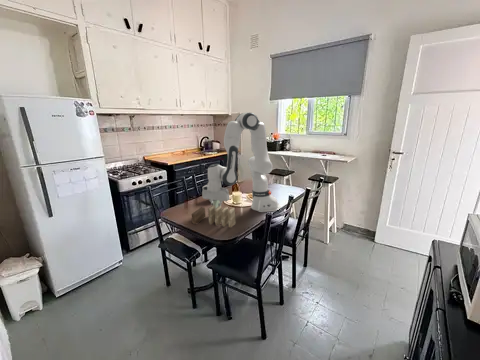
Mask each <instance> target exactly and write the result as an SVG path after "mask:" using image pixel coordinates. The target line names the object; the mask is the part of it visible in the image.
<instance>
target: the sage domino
mask: <svg viewBox="0 0 480 360" xmlns="http://www.w3.org/2000/svg"><path fill="white" fill-rule="evenodd" d="M219 203H220V202H219V200H214V201H213V206H215V209H216V208H217V207H218V204H219Z"/></svg>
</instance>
